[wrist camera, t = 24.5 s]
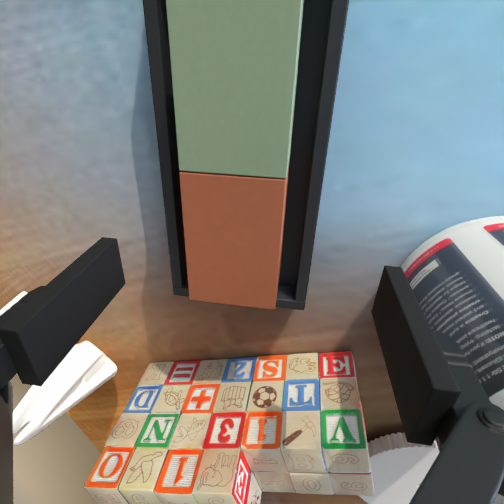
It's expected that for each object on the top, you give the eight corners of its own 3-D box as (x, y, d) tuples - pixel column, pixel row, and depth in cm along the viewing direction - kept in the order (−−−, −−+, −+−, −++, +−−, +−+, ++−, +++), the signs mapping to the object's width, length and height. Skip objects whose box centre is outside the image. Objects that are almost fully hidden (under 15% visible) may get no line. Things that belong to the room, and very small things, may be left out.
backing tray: (154, -69, 18) (132, -90, 15) (354, -70, 16) (362, -93, 14) (183, 277, 29) (173, 294, 27) (304, 290, 28) (304, 310, 25)
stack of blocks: (352, 347, 30) (378, 500, 19) (359, 392, 33) (385, 548, 22) (148, 362, 35) (79, 489, 24) (168, 400, 38) (115, 529, 27)
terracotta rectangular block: (203, 152, 22) (178, 172, 18) (289, 158, 22) (285, 180, 18) (207, 263, 27) (189, 300, 23) (280, 270, 26) (274, 310, 22)
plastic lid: (332, 475, 40) (334, 498, 38) (377, 408, 33) (382, 431, 31) (442, 504, 40) (450, 529, 38) (511, 443, 33) (526, 469, 31)
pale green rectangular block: (196, -15, 18) (162, -41, 14) (305, -14, 17) (305, -41, 13) (203, 151, 22) (178, 170, 18) (290, 157, 22) (286, 179, 17)
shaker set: (129, 357, 35) (63, 464, 26) (104, 369, 37) (34, 474, 27) (41, 276, 31) (-76, 368, 22) (18, 294, 33) (-100, 386, 23)
